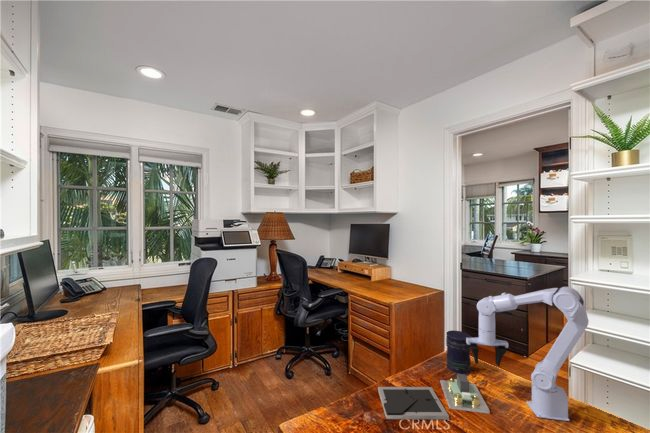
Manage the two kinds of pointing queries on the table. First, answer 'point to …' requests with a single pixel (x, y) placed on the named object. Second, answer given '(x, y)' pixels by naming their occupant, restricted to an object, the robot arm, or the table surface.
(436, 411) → the picture frame
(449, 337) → the storage jar
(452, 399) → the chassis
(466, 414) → the table surface
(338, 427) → the table surface
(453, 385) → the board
